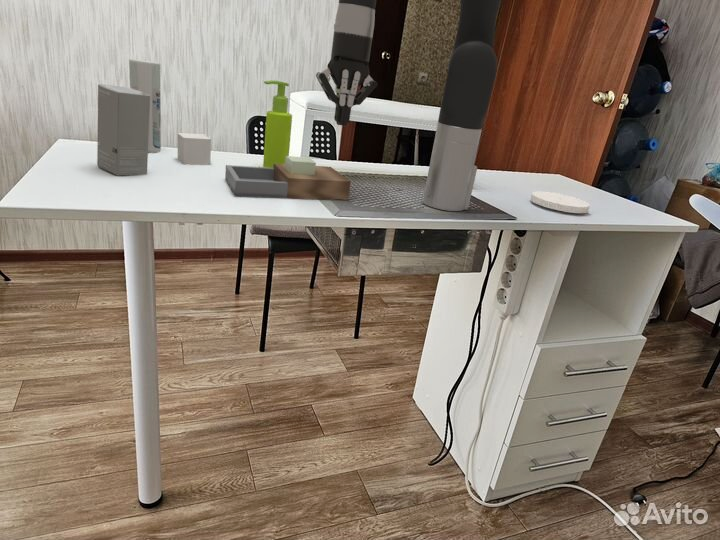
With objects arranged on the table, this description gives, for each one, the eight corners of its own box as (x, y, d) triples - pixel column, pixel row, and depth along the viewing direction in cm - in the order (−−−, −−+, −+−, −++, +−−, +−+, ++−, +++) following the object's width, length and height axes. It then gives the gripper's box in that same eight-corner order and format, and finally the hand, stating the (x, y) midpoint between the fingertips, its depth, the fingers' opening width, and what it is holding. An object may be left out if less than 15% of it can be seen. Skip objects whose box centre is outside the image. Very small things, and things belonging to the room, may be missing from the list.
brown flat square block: (328, 184, 114) (330, 166, 113) (348, 200, 103) (350, 181, 102) (272, 181, 109) (273, 163, 108) (286, 198, 98) (288, 178, 97)
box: (272, 181, 109) (273, 167, 108) (286, 198, 98) (288, 183, 97) (225, 179, 105) (225, 165, 104) (234, 196, 94) (235, 180, 93)
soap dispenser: (256, 165, 122) (261, 78, 114) (283, 166, 125) (290, 82, 117) (262, 171, 117) (268, 80, 109) (290, 172, 120) (298, 84, 112)
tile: (307, 169, 107) (309, 157, 106) (314, 174, 103) (315, 162, 102) (284, 167, 105) (285, 155, 104) (290, 173, 101) (291, 161, 100)
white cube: (210, 165, 116) (211, 139, 113) (183, 165, 113) (183, 137, 110) (203, 159, 120) (204, 134, 118) (177, 158, 117) (177, 132, 115)
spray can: (132, 146, 122) (129, 58, 115) (161, 148, 125) (160, 62, 117) (131, 151, 117) (128, 59, 109) (161, 153, 119) (160, 63, 112)
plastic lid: (517, 199, 129) (520, 190, 128) (559, 201, 135) (562, 192, 134) (555, 216, 118) (558, 206, 117) (599, 217, 123) (602, 207, 122)
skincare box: (96, 167, 100) (91, 83, 94) (131, 165, 105) (128, 85, 99) (117, 177, 95) (113, 89, 89) (152, 174, 101) (151, 92, 95)
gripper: (326, 26, 91) (315, 124, 97) (392, 39, 96) (377, 131, 103) (315, 27, 97) (305, 118, 104) (376, 38, 102) (363, 125, 109)
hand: (341, 124), depth 103 cm, fingers closed
